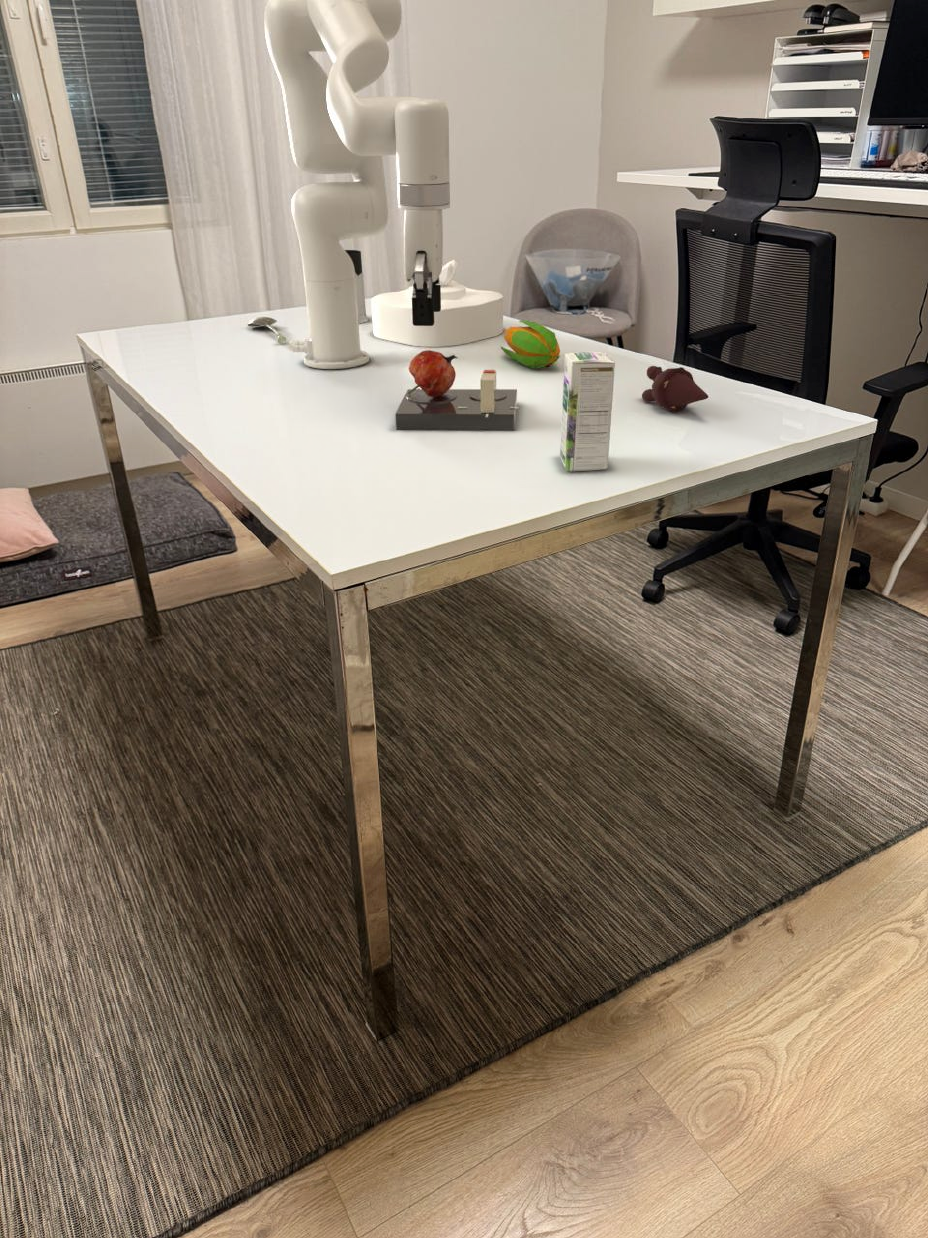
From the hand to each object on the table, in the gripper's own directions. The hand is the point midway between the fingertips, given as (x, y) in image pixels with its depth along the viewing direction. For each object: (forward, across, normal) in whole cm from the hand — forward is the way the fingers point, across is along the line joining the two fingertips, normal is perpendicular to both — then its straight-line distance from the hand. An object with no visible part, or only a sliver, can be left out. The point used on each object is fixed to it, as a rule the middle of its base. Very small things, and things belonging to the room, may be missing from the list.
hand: (427, 318), depth 142 cm
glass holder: (+17, -76, -27) cm, 82 cm away
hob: (+14, +3, +5) cm, 16 cm away
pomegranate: (+12, +1, 0) cm, 12 cm away
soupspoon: (+17, -58, -42) cm, 73 cm away
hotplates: (+12, +1, +4) cm, 13 cm away
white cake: (+16, -60, -5) cm, 62 cm away
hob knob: (+12, +7, +10) cm, 17 cm away
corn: (+15, -33, +15) cm, 39 cm away
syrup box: (+14, +25, +24) cm, 37 cm away
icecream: (+14, -1, +39) cm, 42 cm away
